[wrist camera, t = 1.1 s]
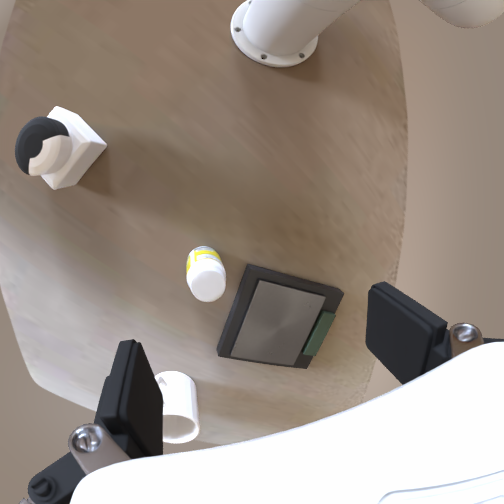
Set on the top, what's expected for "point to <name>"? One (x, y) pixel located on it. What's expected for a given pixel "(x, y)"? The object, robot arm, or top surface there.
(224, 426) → the top surface
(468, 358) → the robot arm
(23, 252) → the top surface
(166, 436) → the mug
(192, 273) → the supplement bottle
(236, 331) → the scale
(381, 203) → the top surface
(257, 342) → the scale pan
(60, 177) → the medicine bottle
